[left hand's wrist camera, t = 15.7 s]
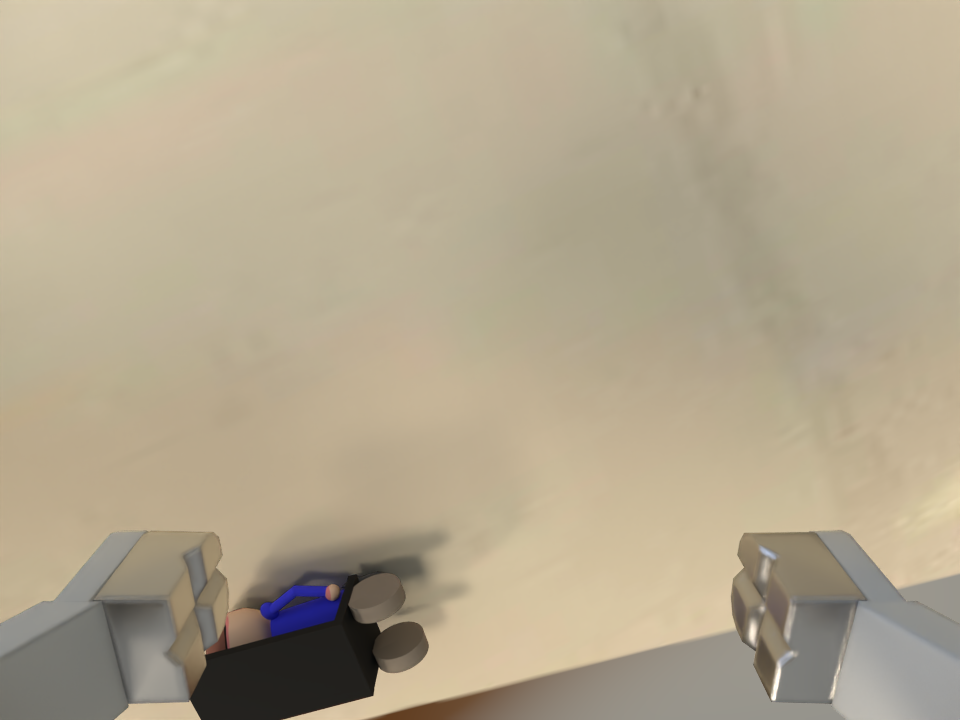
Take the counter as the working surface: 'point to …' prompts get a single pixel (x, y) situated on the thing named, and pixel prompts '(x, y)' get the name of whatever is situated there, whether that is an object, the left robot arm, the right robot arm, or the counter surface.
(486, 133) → the counter surface
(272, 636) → the figurine character
